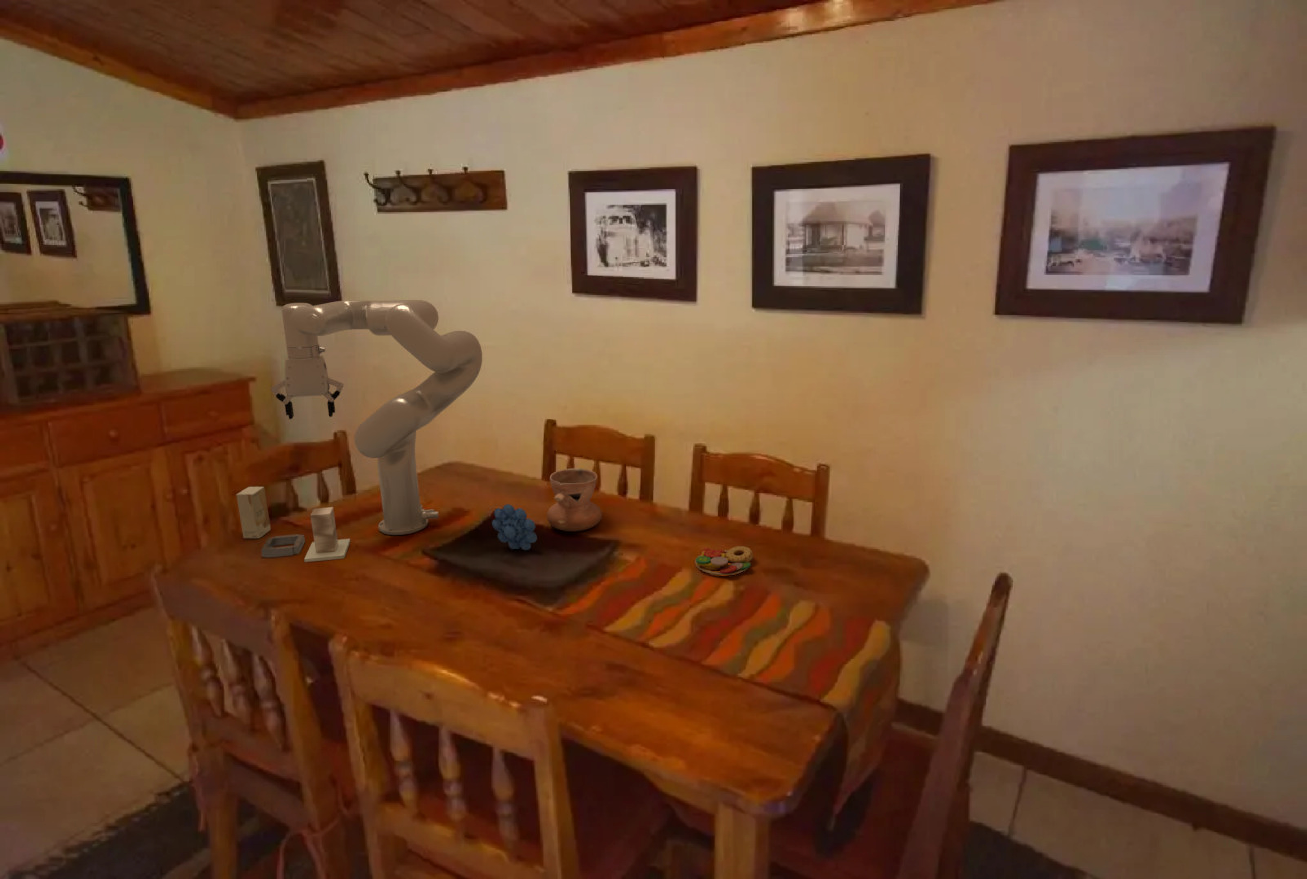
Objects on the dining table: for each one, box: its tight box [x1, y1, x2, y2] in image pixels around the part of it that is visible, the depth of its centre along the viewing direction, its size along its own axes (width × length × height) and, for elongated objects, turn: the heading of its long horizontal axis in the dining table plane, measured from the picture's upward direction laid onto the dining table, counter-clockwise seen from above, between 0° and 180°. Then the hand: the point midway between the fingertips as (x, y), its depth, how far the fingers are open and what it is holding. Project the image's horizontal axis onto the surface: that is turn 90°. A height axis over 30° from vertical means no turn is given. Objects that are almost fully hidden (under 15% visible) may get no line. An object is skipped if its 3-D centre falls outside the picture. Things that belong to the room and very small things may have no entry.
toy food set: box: [694, 545, 754, 576], centre depth 180 cm, size 13×13×3 cm
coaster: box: [303, 538, 351, 563], centre depth 190 cm, size 9×10×1 cm
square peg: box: [309, 506, 339, 553], centre depth 189 cm, size 4×4×10 cm
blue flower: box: [491, 503, 538, 551], centre depth 188 cm, size 12×7×12 cm, turn 75°
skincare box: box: [235, 486, 272, 539], centre depth 199 cm, size 6×4×12 cm
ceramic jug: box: [546, 467, 603, 532], centre depth 203 cm, size 18×14×14 cm
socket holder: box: [260, 533, 306, 559], centre depth 191 cm, size 8×8×2 cm
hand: (311, 416), depth 201 cm, fingers open, 9 cm apart
